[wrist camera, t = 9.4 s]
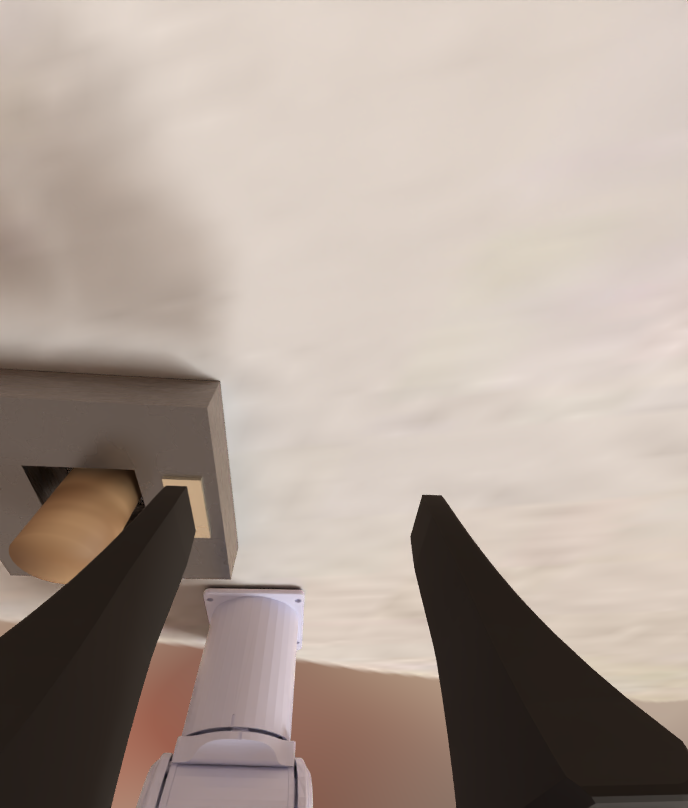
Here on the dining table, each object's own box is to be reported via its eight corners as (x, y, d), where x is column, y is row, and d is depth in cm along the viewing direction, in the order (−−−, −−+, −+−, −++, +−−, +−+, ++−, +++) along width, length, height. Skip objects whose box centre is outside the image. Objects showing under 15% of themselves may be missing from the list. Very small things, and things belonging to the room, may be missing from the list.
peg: (153, 497, 24) (107, 585, 19) (88, 493, 24) (24, 582, 19) (143, 451, 22) (89, 536, 17) (72, 445, 22) (-5, 531, 17)
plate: (238, 547, 27) (230, 582, 25) (36, 542, 26) (8, 578, 24) (219, 381, 20) (205, 410, 17) (-66, 365, 19) (-120, 393, 16)
